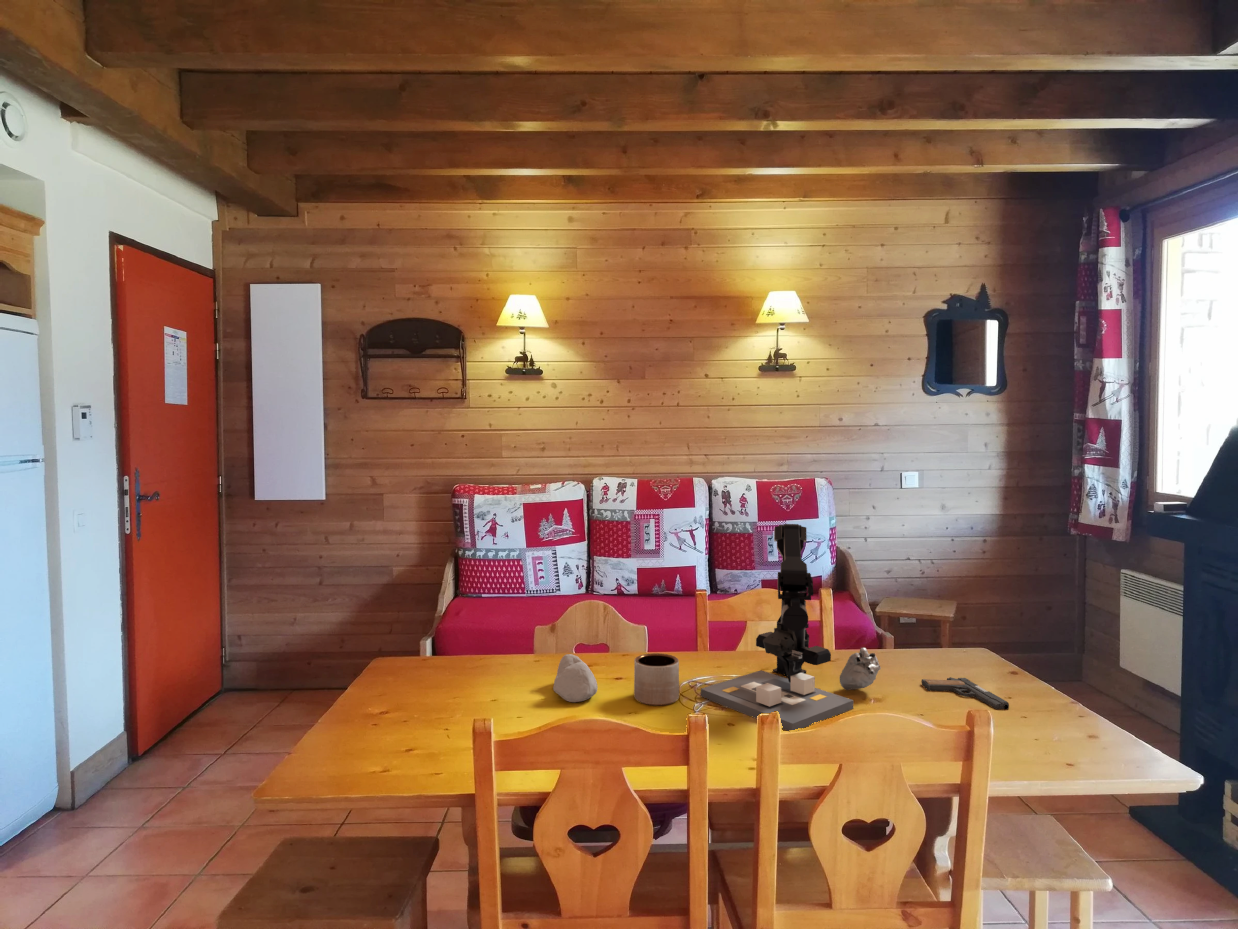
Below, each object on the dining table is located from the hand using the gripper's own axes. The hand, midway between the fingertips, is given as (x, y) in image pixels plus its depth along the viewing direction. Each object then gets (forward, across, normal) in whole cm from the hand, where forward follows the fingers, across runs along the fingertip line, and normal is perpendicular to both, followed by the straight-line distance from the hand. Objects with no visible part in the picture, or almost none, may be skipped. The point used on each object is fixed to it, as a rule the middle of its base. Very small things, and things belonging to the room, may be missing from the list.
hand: (791, 682), depth 190 cm
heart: (+4, +8, +16) cm, 18 cm away
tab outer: (+1, +3, -12) cm, 12 cm away
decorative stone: (+5, -36, -40) cm, 53 cm away
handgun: (+4, +26, +33) cm, 42 cm away
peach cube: (+1, +3, 0) cm, 4 cm away
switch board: (+4, 0, -6) cm, 7 cm away
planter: (+4, -20, -26) cm, 33 cm away
